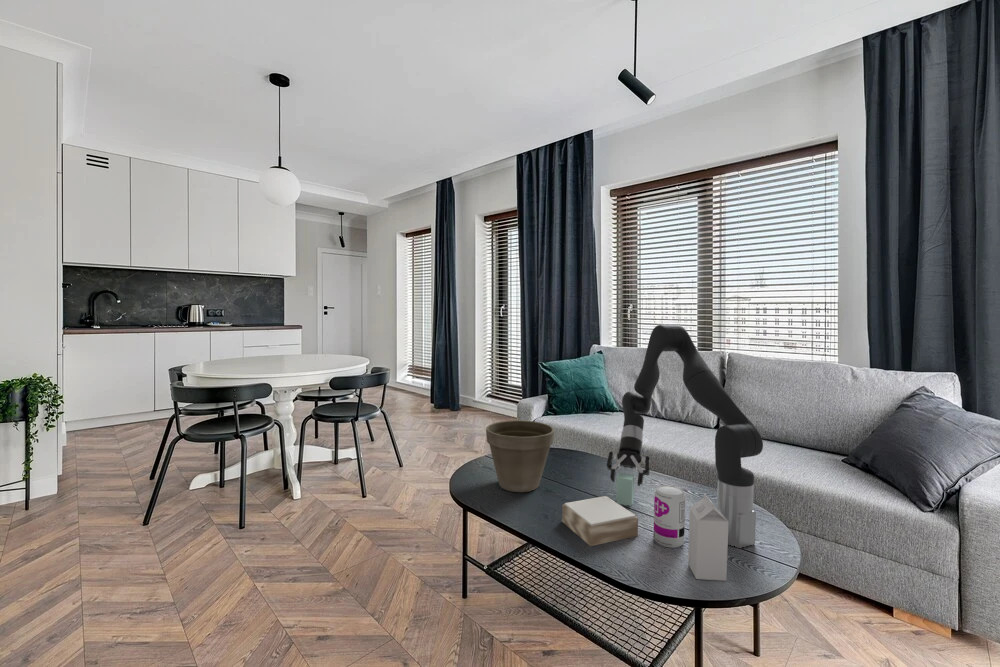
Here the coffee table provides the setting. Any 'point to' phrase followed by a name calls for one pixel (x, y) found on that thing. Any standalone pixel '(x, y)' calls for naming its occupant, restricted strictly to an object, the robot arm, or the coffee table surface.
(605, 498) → the podium
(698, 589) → the coffee table surface
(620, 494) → the carton
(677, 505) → the supplement can
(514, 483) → the plant pot
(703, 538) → the milk carton
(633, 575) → the coffee table surface
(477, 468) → the coffee table surface
